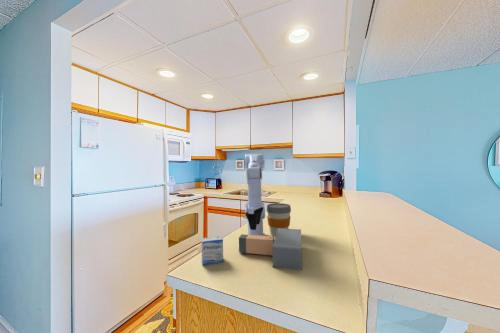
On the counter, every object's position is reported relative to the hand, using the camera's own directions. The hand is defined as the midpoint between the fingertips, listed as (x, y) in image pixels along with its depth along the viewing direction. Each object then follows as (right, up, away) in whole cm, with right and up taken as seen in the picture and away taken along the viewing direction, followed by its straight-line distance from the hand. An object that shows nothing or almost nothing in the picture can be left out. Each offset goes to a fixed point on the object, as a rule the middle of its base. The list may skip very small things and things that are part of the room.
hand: (255, 226), depth 86 cm
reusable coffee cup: (+13, -10, +19) cm, 25 cm away
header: (+13, -10, -6) cm, 17 cm away
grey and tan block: (+1, -10, -3) cm, 10 cm away
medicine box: (-17, -11, -9) cm, 22 cm away
